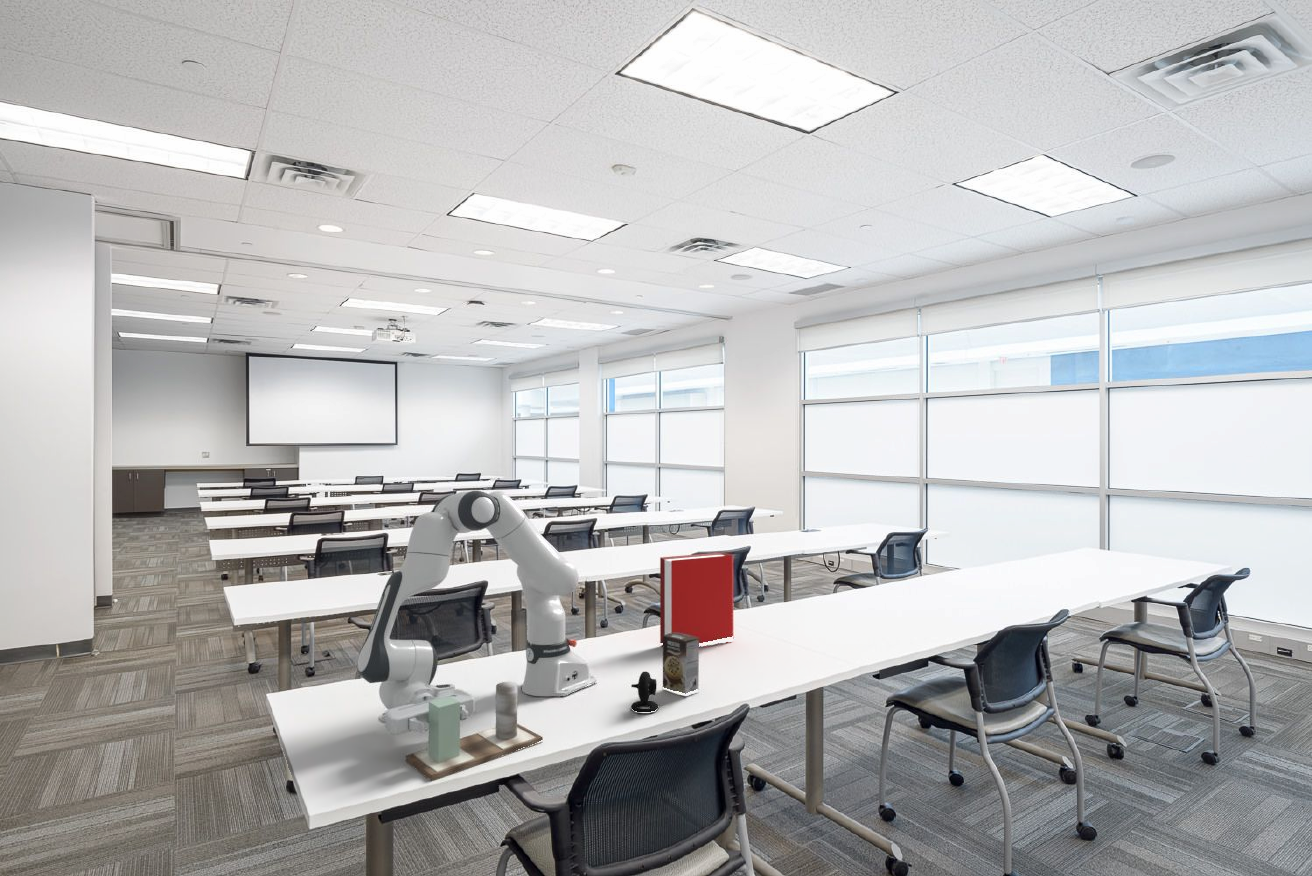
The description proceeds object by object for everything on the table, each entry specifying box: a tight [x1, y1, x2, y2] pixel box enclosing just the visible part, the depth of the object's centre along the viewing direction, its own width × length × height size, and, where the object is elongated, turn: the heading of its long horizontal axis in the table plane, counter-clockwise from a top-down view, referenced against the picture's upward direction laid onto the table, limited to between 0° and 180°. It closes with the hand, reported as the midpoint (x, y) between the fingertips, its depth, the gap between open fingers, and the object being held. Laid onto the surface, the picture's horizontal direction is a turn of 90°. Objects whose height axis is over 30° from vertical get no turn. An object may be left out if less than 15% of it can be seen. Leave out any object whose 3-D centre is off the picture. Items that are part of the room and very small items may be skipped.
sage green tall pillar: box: [427, 696, 461, 763], centre depth 151 cm, size 5×5×12 cm
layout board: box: [405, 681, 544, 782], centre depth 157 cm, size 28×13×13 cm, turn 134°
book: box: [659, 552, 734, 644], centre depth 246 cm, size 27×8×32 cm, turn 119°
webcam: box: [630, 671, 659, 712], centre depth 183 cm, size 8×8×10 cm
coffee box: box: [662, 632, 700, 694], centre depth 197 cm, size 9×6×16 cm
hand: (446, 722), depth 151 cm, fingers open, 8 cm apart
